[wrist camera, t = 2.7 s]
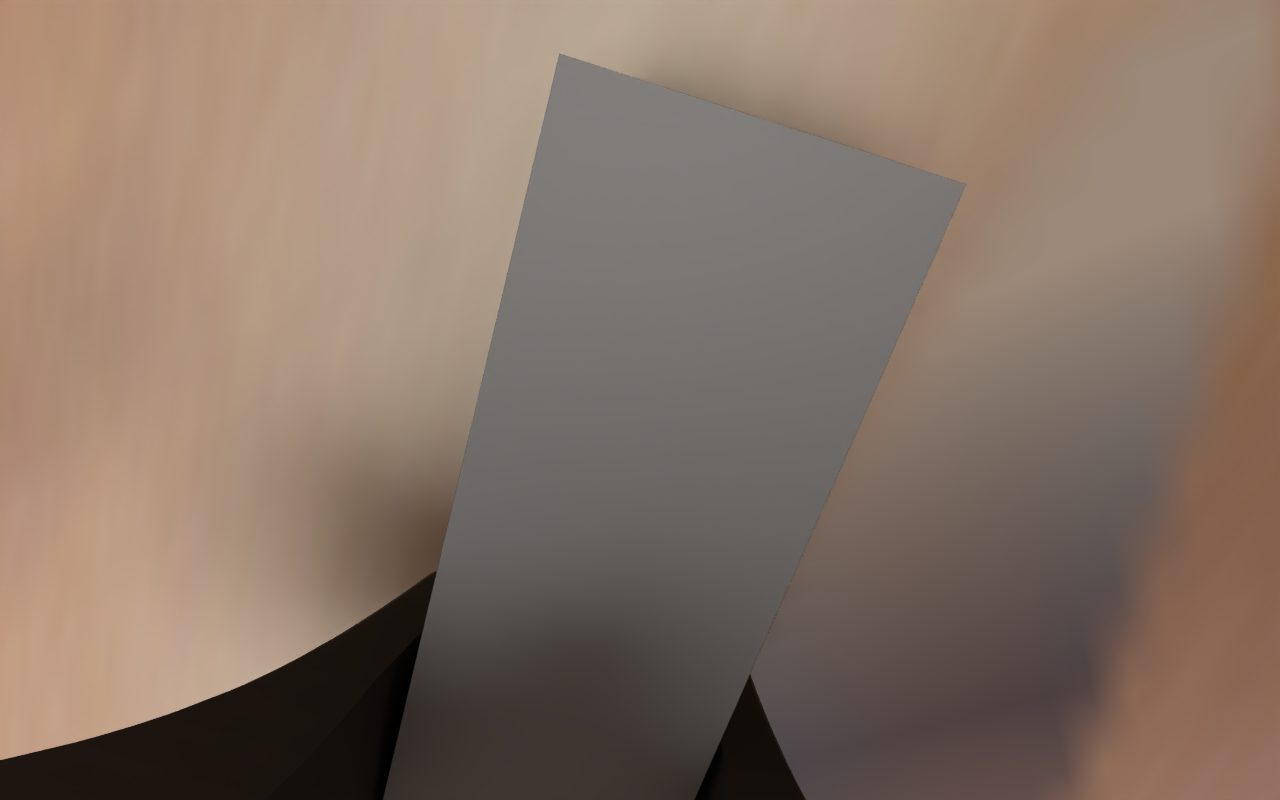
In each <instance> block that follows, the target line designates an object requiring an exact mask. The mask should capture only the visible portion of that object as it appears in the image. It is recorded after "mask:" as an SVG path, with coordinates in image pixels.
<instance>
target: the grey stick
mask: <svg viewBox="0 0 1280 800" xmlns="http://www.w3.org/2000/svg"><path fill="white" fill-rule="evenodd" d="M965 186H966V184H964V183H961V182H958V181H955V180H952V179H948V178H945V177H942V176H939V175H936V174H933V173H930V172H927V171H923V170H920V169H917V168H914V167H911V166H908V165H905V164H902V163H899V162H895V161H892V160H889V159H886V158H883V157H880V156H877V155H874V154H870V153H867V152H864V151H861V150H858V149H855V148H852V147H849V146H846V145H842V144H839V143H836V142H833V141H830V140H827V139H824V138H821V137H817V136H814V135H811V134H808V133H805V132H802V131H799V130H796V129H793V128H789V127H786V126H783V125H780V124H777V123H774V122H771V121H768V120H765V119H761V118H758V117H755V116H752V115H749V114H746V113H743V112H740V111H736V110H733V109H730V108H727V107H724V106H721V105H718V104H715V103H712V102H708V101H705V100H702V99H699V98H696V97H693V96H690V95H687V94H683V93H680V92H677V91H674V90H671V89H668V88H665V87H662V86H659V85H655V84H652V83H649V82H646V81H643V80H640V79H637V78H634V77H630V76H627V75H624V74H621V73H618V72H615V71H612V70H609V69H606V68H602V67H599V66H596V65H593V64H590V63H587V62H584V61H581V60H577V59H574V58H571V57H568V56H565V55H562V54H559V58H558V62H557V66H556V70H555V74H554V79H553V83H552V87H551V91H550V96H549V100H548V104H547V108H546V112H545V117H544V121H543V125H542V129H541V134H540V138H539V142H538V146H537V151H536V155H535V159H534V163H533V167H532V172H531V176H530V180H529V184H528V189H527V193H526V197H525V201H524V205H523V210H522V214H521V218H520V222H519V227H518V231H517V235H516V239H515V244H514V248H513V252H512V256H511V260H510V265H509V269H508V273H507V277H506V282H505V286H504V290H503V294H502V298H501V303H500V307H499V311H498V315H497V320H496V324H495V328H494V332H493V337H492V341H491V345H490V349H489V353H488V358H487V362H486V366H485V370H484V375H483V379H482V383H481V387H480V391H479V396H478V400H477V404H476V408H475V413H474V417H473V421H472V425H471V430H470V434H469V438H468V442H467V446H466V451H465V455H464V459H463V463H462V468H461V472H460V476H459V480H458V485H457V489H456V493H455V497H454V501H453V506H452V510H451V514H450V518H449V523H448V527H447V531H446V535H445V539H444V544H443V548H442V552H441V556H440V561H439V565H438V569H437V573H436V578H435V582H434V586H433V590H432V594H431V599H430V603H429V607H428V611H427V616H426V620H425V624H424V628H423V632H422V637H421V641H420V645H419V649H418V654H417V658H416V662H415V666H414V671H413V675H412V679H411V683H410V687H409V692H408V696H407V700H406V704H405V709H404V713H403V717H402V721H401V725H400V730H399V734H398V738H397V742H396V747H395V751H394V755H393V759H392V764H391V768H390V772H389V776H388V780H387V785H386V789H385V793H384V797H383V800H694V799H695V797H696V795H697V793H698V790H699V788H700V786H701V784H702V781H703V779H704V777H705V775H706V772H707V770H708V768H709V765H710V763H711V761H712V759H713V756H714V754H715V752H716V750H717V747H718V745H719V743H720V741H721V738H722V736H723V734H724V732H725V729H726V727H727V725H728V722H729V720H730V718H731V716H732V713H733V711H734V709H735V707H736V704H737V702H738V700H739V698H740V695H741V693H742V691H743V689H744V686H745V684H746V682H747V679H748V677H749V675H750V673H751V670H752V668H753V666H754V664H755V661H756V659H757V657H758V655H759V652H760V650H761V648H762V646H763V643H764V641H765V639H766V637H767V634H768V632H769V630H770V627H771V625H772V623H773V621H774V618H775V616H776V614H777V612H778V609H779V607H780V605H781V603H782V600H783V598H784V596H785V594H786V591H787V589H788V587H789V584H790V582H791V580H792V578H793V575H794V573H795V571H796V569H797V566H798V564H799V562H800V560H801V557H802V555H803V553H804V551H805V548H806V546H807V544H808V542H809V539H810V537H811V535H812V532H813V530H814V528H815V526H816V523H817V521H818V519H819V517H820V514H821V512H822V510H823V508H824V505H825V503H826V501H827V499H828V496H829V494H830V492H831V489H832V487H833V485H834V483H835V480H836V478H837V476H838V474H839V471H840V469H841V467H842V465H843V462H844V460H845V458H846V456H847V453H848V451H849V449H850V447H851V444H852V442H853V440H854V437H855V435H856V433H857V431H858V428H859V426H860V424H861V422H862V419H863V417H864V415H865V413H866V410H867V408H868V406H869V404H870V401H871V399H872V397H873V394H874V392H875V390H876V388H877V385H878V383H879V381H880V379H881V376H882V374H883V372H884V370H885V367H886V365H887V363H888V361H889V358H890V356H891V354H892V352H893V349H894V347H895V345H896V342H897V340H898V338H899V336H900V333H901V331H902V329H903V327H904V324H905V322H906V320H907V318H908V315H909V313H910V311H911V309H912V306H913V304H914V302H915V299H916V297H917V295H918V293H919V290H920V288H921V286H922V284H923V281H924V279H925V277H926V275H927V272H928V270H929V268H930V266H931V263H932V261H933V259H934V257H935V254H936V252H937V250H938V247H939V245H940V243H941V241H942V238H943V236H944V234H945V232H946V229H947V227H948V225H949V223H950V220H951V218H952V216H953V214H954V211H955V209H956V207H957V204H958V202H959V200H960V198H961V195H962V193H963V191H964V189H965Z"/></svg>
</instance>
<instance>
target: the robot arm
mask: <svg viewBox="0 0 1280 800" xmlns="http://www.w3.org/2000/svg"><path fill="white" fill-rule="evenodd" d="M436 573H437V571H435V572H433V573H432V574H430V575H428V576H427V577H426V578H424V579H423V580H421V581H420V582H418V583H417V584H416V585H414V586H413V587H411V588H410V589H409V590H407V591H406V592H404V593H403V594H401V595H400V596H399V597H397V598H396V599H394V600H393V601H391V602H390V603H388V604H387V605H385V606H384V607H382V608H381V609H379V610H378V611H376V612H375V613H373V614H372V615H370V616H368V617H367V618H365V619H364V620H362V621H361V622H359V623H358V624H356V625H354V626H353V627H351V628H350V629H348V630H346V631H345V632H343V633H342V634H340V635H338V636H336V637H335V638H333V639H331V640H329V641H328V642H326V643H324V644H322V645H321V646H319V647H317V648H315V649H314V650H312V651H310V652H308V653H307V654H305V655H303V656H301V657H299V658H298V659H296V660H294V661H292V662H290V663H288V664H286V665H284V666H282V667H280V668H278V669H276V670H274V671H272V672H270V673H268V674H266V675H264V676H262V677H260V678H258V679H255V680H253V681H251V682H249V683H247V684H245V685H242V686H240V687H238V688H235V689H233V690H231V691H228V692H225V693H223V694H220V695H218V696H215V697H213V698H210V699H207V700H205V701H202V702H200V703H197V704H194V705H192V706H189V707H187V708H184V709H181V710H179V711H176V712H174V713H171V714H168V715H165V716H162V717H159V718H156V719H153V720H150V721H147V722H144V723H141V724H137V725H134V726H131V727H128V728H124V729H121V730H118V731H114V732H111V733H108V734H104V735H101V736H97V737H94V738H90V739H86V740H83V741H79V742H75V743H71V744H67V745H63V746H59V747H54V748H50V749H46V750H42V751H38V752H33V753H29V754H25V755H21V756H17V757H12V758H8V759H4V760H0V800H383V797H384V793H385V789H386V785H387V780H388V776H389V772H390V768H391V764H392V759H393V755H394V751H395V747H396V742H397V738H398V734H399V730H400V725H401V721H402V717H403V713H404V709H405V704H406V700H407V696H408V692H409V687H410V683H411V679H412V675H413V671H414V666H415V662H416V658H417V654H418V649H419V645H420V641H421V637H422V632H423V628H424V624H425V620H426V616H427V611H428V607H429V603H430V599H431V594H432V590H433V586H434V582H435V578H436ZM694 800H806V799H805V797H804V795H803V794H802V792H801V790H800V788H799V786H798V784H797V782H796V780H795V778H794V776H793V774H792V772H791V770H790V768H789V766H788V764H787V762H786V759H785V757H784V755H783V753H782V751H781V749H780V746H779V744H778V742H777V740H776V738H775V735H774V733H773V731H772V729H771V726H770V724H769V721H768V719H767V717H766V714H765V712H764V709H763V707H762V704H761V702H760V699H759V697H758V694H757V691H756V689H755V686H754V683H753V681H752V678H751V675H749V677H748V679H747V682H746V684H745V686H744V689H743V691H742V693H741V695H740V698H739V700H738V702H737V704H736V707H735V709H734V711H733V713H732V716H731V718H730V720H729V722H728V725H727V727H726V729H725V732H724V734H723V736H722V738H721V741H720V743H719V745H718V747H717V750H716V752H715V754H714V756H713V759H712V761H711V763H710V765H709V768H708V770H707V772H706V775H705V777H704V779H703V781H702V784H701V786H700V788H699V790H698V793H697V795H696V797H695V799H694Z"/></svg>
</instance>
